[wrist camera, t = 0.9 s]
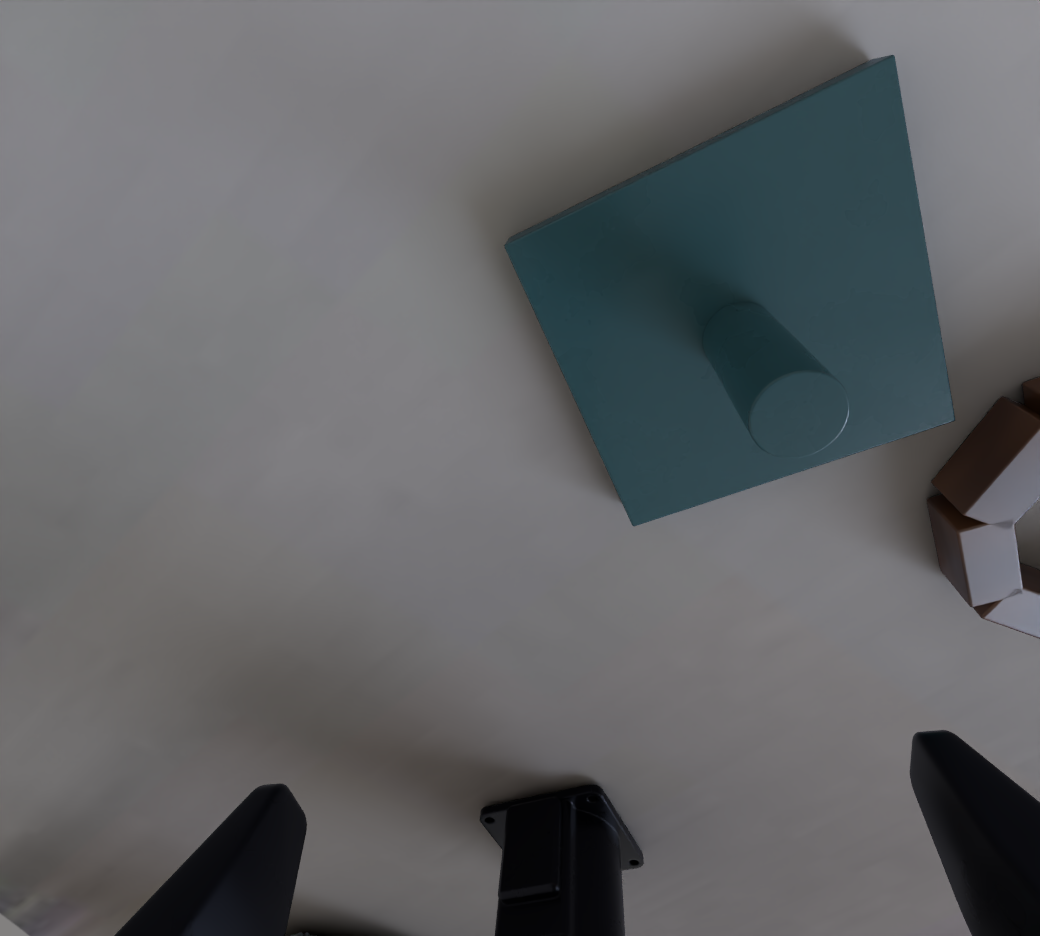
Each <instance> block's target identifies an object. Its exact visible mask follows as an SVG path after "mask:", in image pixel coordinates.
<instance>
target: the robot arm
mask: <svg viewBox="0 0 1040 936" xmlns="http://www.w3.org/2000/svg"><path fill="white" fill-rule="evenodd" d="M910 779H911V783H912V787H913V790H914V793H915V795H916V798H917V801H918V803H919V806H920V808H921V811H922V813H923V816H924V818H925V821H926V823H927V826H928V829H929V831H930V834H931V836H932V839H933V841H934V844H935V846H936V849H937V851H938V854H939V856H940V859H941V862H942V864H943V867H944V869H945V872H946V874H947V877H948V879H949V882H950V884H951V887H952V889H953V892H954V895H955V897H956V900H957V902H958V904H959V907H960V909H961V912H962V914H963V917H964V919H965V921H966V924H967V926H968V928H969V930H970V932H971V934H972V936H1040V802H1039V801H1037V800H1036V799H1035V798H1034V797H1032V796H1031V795H1030V794H1029V793H1027V792H1026V791H1025V790H1024V789H1022V788H1021V787H1020V786H1019V785H1018V784H1016V783H1015V782H1014V781H1013V780H1011V779H1010V778H1009V777H1008V776H1006V775H1005V774H1004V773H1003V772H1001V771H1000V770H999V769H998V768H996V767H995V766H994V765H993V764H991V763H990V762H989V761H988V760H986V759H985V758H984V757H983V756H981V755H980V754H979V753H978V752H977V751H975V750H974V749H973V748H972V747H970V746H969V745H968V744H967V743H965V742H964V741H963V740H962V739H960V738H959V737H958V736H957V735H955V734H953V733H952V732H949V731H946V730H939V731H926V732H918V733H916V734H915V735H914V736H913V740H912V751H911V763H910ZM480 822H481V823H482V824H483V826H484V827H485V828H486V829H487V831H488V832H489V833H490V834H491V836H492V837H493V838H494V840H495V841H496V842H497V843H498V845H499V846H500V847H501V848H502V850H503V851H502V861H501V870H500V880H499V889H498V897H499V900H498V909H497V919H496V929H495V936H625V925H624V907H623V890H622V873H621V871H622V870H628V869H634V868H639V867H641V866H642V865H643V864H644V861H643V853H642V851H641V850H640V848H639V847H638V845H637V844H636V842H635V840H634V839H633V837H632V836H631V834H630V832H629V831H628V829H627V828H626V826H625V824H624V823H623V821H622V820H621V818H620V816H619V815H618V813H617V812H616V810H615V808H614V807H613V805H612V804H611V802H610V801H609V799H608V797H607V796H606V794H605V793H604V791H603V789H602V788H601V787H599V786H597V785H586V786H582V787H577V788H572V789H568V790H563V791H558V792H553V793H549V794H544V795H539V796H535V797H530V798H525V799H521V800H516V801H511V802H507V803H502V804H497V805H492V806H488V807H484V808H483V809H482V810H481V815H480ZM306 826H307V823H306V817H305V814H304V812H303V810H302V809H301V807H300V805H299V804H298V802H297V801H296V799H295V797H294V796H293V794H292V793H291V791H290V790H289V788H288V787H287V786H286V785H284V784H270V785H262V786H259V787H257V788H256V789H255V790H254V791H252V792H251V793H250V794H249V796H248V797H247V798H246V799H245V800H244V801H243V802H242V803H241V804H240V805H239V806H238V807H237V808H236V809H235V810H234V811H233V812H232V813H231V814H230V815H229V816H228V817H227V818H226V820H225V821H224V822H223V823H222V824H221V825H220V826H219V827H218V828H217V829H216V830H215V831H214V832H213V833H212V834H211V835H210V836H209V837H208V838H207V839H206V840H205V841H204V843H203V844H202V845H201V846H200V847H199V848H198V849H197V850H196V851H195V852H194V853H193V854H192V855H191V856H190V857H189V858H188V859H187V860H186V861H185V862H184V863H183V864H182V866H181V867H180V868H179V869H178V870H177V871H176V872H175V873H174V874H173V875H172V876H171V877H170V878H169V879H168V880H167V881H166V882H165V883H164V884H163V885H162V886H161V887H160V888H159V890H158V891H157V892H156V893H155V894H154V895H153V896H152V897H151V898H150V899H149V900H148V901H147V902H146V903H145V904H144V905H143V906H142V907H141V908H140V909H139V910H138V911H137V913H136V914H135V915H134V916H133V917H132V918H131V919H130V920H129V921H128V922H127V923H126V924H125V925H124V926H123V927H122V928H121V929H120V930H119V931H118V932H117V933H116V934H115V936H285V932H286V928H287V924H288V919H289V914H290V909H291V904H292V899H293V894H294V889H295V884H296V879H297V874H298V869H299V864H300V860H301V855H302V850H303V845H304V840H305V835H306Z"/></svg>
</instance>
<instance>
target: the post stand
mask: <svg viewBox="0 0 1040 936" xmlns="http://www.w3.org/2000/svg"><path fill="white" fill-rule="evenodd" d="M505 249H506V251H507V253H508V256H509V258H510V260H511V262H512V264H513V267H514V269H515V271H516V273H517V275H518V277H519V280H520V282H521V284H522V286H523V288H524V290H525V293H526V295H527V297H528V299H529V301H530V304H531V306H532V308H533V310H534V312H535V314H536V317H537V319H538V321H539V323H540V325H541V327H542V330H543V332H544V334H545V336H546V338H547V340H548V343H549V345H550V347H551V349H552V351H553V354H554V356H555V358H556V360H557V362H558V364H559V367H560V369H561V371H562V373H563V375H564V377H565V380H566V382H567V384H568V386H569V388H570V391H571V393H572V395H573V397H574V399H575V401H576V404H577V406H578V408H579V410H580V412H581V414H582V417H583V419H584V421H585V423H586V425H587V428H588V430H589V432H590V434H591V436H592V438H593V441H594V443H595V445H596V447H597V449H598V451H599V454H600V456H601V458H602V460H603V462H604V464H605V467H606V469H607V471H608V473H609V475H610V478H611V480H612V482H613V484H614V486H615V488H616V491H617V493H618V495H619V497H620V499H621V501H622V504H623V506H624V508H625V510H626V512H627V515H628V517H629V519H630V521H631V523H632V525H633V526H636V525H640V524H643V523H646V522H649V521H652V520H655V519H658V518H661V517H664V516H667V515H670V514H673V513H676V512H679V511H682V510H685V509H688V508H691V507H694V506H697V505H700V504H703V503H706V502H709V501H712V500H715V499H719V498H722V497H725V496H728V495H731V494H734V493H737V492H740V491H743V490H746V489H749V488H752V487H755V486H758V485H761V484H764V483H767V482H770V481H773V480H776V479H779V478H782V477H785V476H788V475H791V474H794V473H797V472H801V471H804V470H807V469H810V468H813V467H816V466H819V465H822V464H825V463H828V462H831V461H834V460H837V459H840V458H843V457H846V456H849V455H852V454H855V453H858V452H861V451H864V450H867V449H870V448H873V447H876V446H879V445H883V444H886V443H889V442H892V441H895V440H898V439H901V438H904V437H907V436H910V435H913V434H916V433H919V432H922V431H925V430H928V429H931V428H934V427H937V426H940V425H943V424H946V423H949V422H952V421H955V416H954V410H953V404H952V398H951V392H950V386H949V380H948V374H947V368H946V362H945V356H944V350H943V344H942V338H941V332H940V326H939V320H938V314H937V308H936V302H935V296H934V290H933V284H932V278H931V272H930V266H929V260H928V254H927V248H926V242H925V236H924V230H923V224H922V218H921V212H920V206H919V200H918V194H917V188H916V182H915V176H914V170H913V164H912V158H911V152H910V146H909V140H908V134H907V128H906V122H905V116H904V110H903V104H902V98H901V92H900V86H899V80H898V74H897V68H896V62H895V57H894V55H890V56H885V57H881V58H876V59H872V60H870V61H868V62H866V63H864V64H862V65H860V66H858V67H855V68H853V69H851V70H849V71H847V72H845V73H843V74H841V75H839V76H837V77H835V78H833V79H831V80H829V81H827V82H825V83H823V84H821V85H819V86H817V87H815V88H813V89H811V90H809V91H807V92H805V93H803V94H801V95H799V96H797V97H795V98H793V99H790V100H788V101H786V102H784V103H782V104H780V105H778V106H776V107H774V108H772V109H770V110H768V111H766V112H764V113H762V114H760V115H758V116H756V117H754V118H752V119H750V120H748V121H746V122H744V123H742V124H740V125H738V126H736V127H734V128H732V129H730V130H728V131H725V132H723V133H721V134H719V135H717V136H715V137H713V138H711V139H709V140H707V141H705V142H703V143H701V144H699V145H697V146H695V147H693V148H691V149H689V150H687V151H685V152H683V153H681V154H679V155H677V156H675V157H673V158H671V159H669V160H667V161H665V162H662V163H660V164H658V165H656V166H654V167H652V168H650V169H648V170H646V171H644V172H642V173H640V174H638V175H636V176H634V177H632V178H630V179H628V180H626V181H624V182H622V183H620V184H618V185H616V186H614V187H612V188H610V189H608V190H606V191H604V192H602V193H600V194H597V195H595V196H593V197H591V198H589V199H587V200H585V201H583V202H581V203H579V204H577V205H575V206H573V207H571V208H569V209H567V210H565V211H563V212H561V213H559V214H557V215H555V216H553V217H551V218H549V219H547V220H545V221H543V222H541V223H539V224H537V225H535V226H532V227H530V228H528V229H526V230H524V231H522V232H520V233H518V234H516V235H514V236H512V237H510V238H509V239H508V241H507V242H506V244H505Z"/></svg>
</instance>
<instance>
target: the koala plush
mask: <svg viewBox="0 0 1040 936" xmlns="http://www.w3.org/2000/svg"><path fill="white" fill-rule="evenodd" d="M290 936H309V933H305V934H304V935H303V933H301V932H300V933H297V934H294V935H290ZM310 936H315V935H310Z"/></svg>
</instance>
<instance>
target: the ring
mask: <svg viewBox="0 0 1040 936" xmlns="http://www.w3.org/2000/svg"><path fill="white" fill-rule="evenodd" d="M1022 385H1023V394H1024V403H1025V405H1023V404H1020V403H1018V402H1015V401H1013V400H1010V399H1008V398H1005V397H1000V399H999V400H998V401H997V402H996V403H995V405H994V406H993V407H992V408H991V410H990V411H989V412H988V413H987V414H986V416H985V417H984V418H983V419H982V421H981V422H980V423H979V424H978V425H977V427H976V428H975V429H974V430H973V432H972V433H971V434H970V435H969V436H968V438H967V439H966V440H965V441H964V443H963V444H962V445H961V446H960V447H959V449H958V450H957V451H956V452H955V453H954V455H953V456H952V457H951V458H950V460H949V461H948V462H947V463H946V464H945V466H944V467H943V468H942V469H941V471H940V472H939V473H938V474H937V475H936V477H935V478H934V479H933V480H932V482H931V483H932V484H933V485H934V486H935V487H936V488H937V489H938V490H939V491H940V492H941V493H942V494H940V495H937V496H933V497H930V498H928V499H927V505H928V510H929V515H930V520H931V524H932V529H933V534H934V539H935V544H936V549H937V554H938V559H939V564H940V569H941V571H942V573H943V574H944V575H945V576H946V577H947V579H948V580H949V581H950V582H951V584H952V585H953V586H954V587H955V589H956V590H957V591H958V592H959V593H960V595H961V596H962V597H963V598H964V600H965V601H966V602H967V603H968V605H969V606H970V607H973V608H974V609H975V611H976V612H977V613H978V614H979V616H980V617H981V618H983V619H986V620H989V621H991V622H994V623H997V624H1000V625H1003V626H1005V627H1008V628H1011V629H1014V630H1017V631H1020V632H1022V633H1025V634H1028V635H1031V636H1034V637H1037V638H1039V639H1040V570H1038V569H1035V568H1032V567H1030V566H1027V565H1024V564H1021V563H1020V561H1019V553H1018V546H1017V538H1016V530H1015V523H1016V522H1017V521H1018V520H1019V519H1020V518H1021V517H1022V516H1023V515H1024V514H1025V513H1026V512H1027V511H1028V509H1029V508H1030V507H1031V506H1032V505H1033V504H1034V503H1035V502H1036V501H1037V500H1038V499H1039V498H1040V377H1038V378H1035V379H1032V380H1029V381H1026V382H1024V383H1023V384H1022Z"/></svg>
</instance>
